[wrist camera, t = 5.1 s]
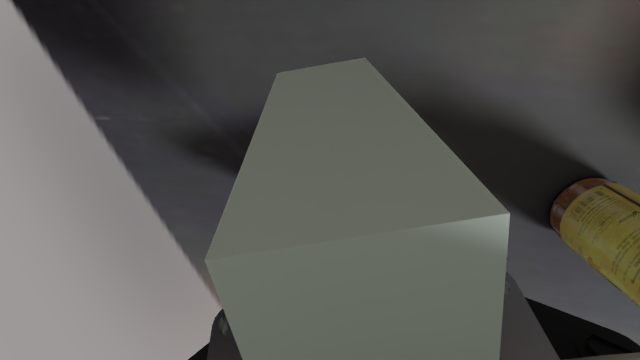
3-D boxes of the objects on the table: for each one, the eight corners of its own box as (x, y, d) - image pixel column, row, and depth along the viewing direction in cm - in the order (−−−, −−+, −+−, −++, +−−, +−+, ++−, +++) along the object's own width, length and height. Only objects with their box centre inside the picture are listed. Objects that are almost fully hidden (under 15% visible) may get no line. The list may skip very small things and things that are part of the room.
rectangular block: (263, 75, 13) (155, 267, 4) (364, 57, 13) (510, 213, 4) (313, 294, 17) (320, 624, 8) (389, 283, 17) (481, 606, 8)
